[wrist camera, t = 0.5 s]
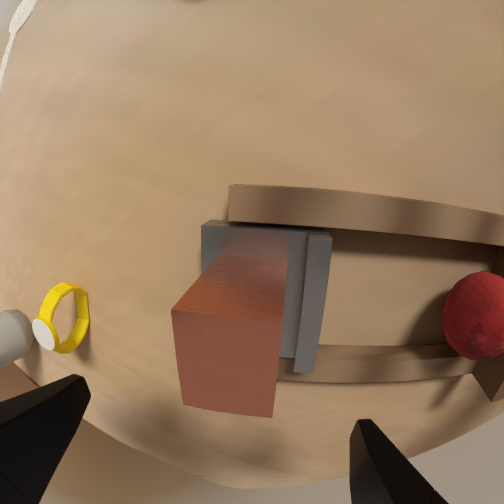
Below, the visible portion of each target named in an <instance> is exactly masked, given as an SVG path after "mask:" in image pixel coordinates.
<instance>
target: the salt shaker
mask: <svg viewBox="0 0 504 504" xmlns="http://www.w3.org/2000/svg"><path fill="white" fill-rule="evenodd" d="M33 341H34V333H33V329H32V325H31V323H30V321H29V320H28V318H27V316H26V315H24V314H23V313H22V312H20V311H19V310H4V311H2V312H0V368H1V367H3V366H5V365H7V364H9V363H11V362H13V361H15V360H17V359H19V358H21V357H23V356H25V355H26V354H27V353H28V352H29V350H30V348H31V345H32V343H33Z"/></svg>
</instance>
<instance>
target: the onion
mask: <svg viewBox="0 0 504 504" xmlns="http://www.w3.org/2000/svg"><path fill="white" fill-rule="evenodd" d="M442 326H443V330H444V335H445V338H446V340H447V342H448V344H449V345H450V346H451V347H452V348H453V349H454V350H455V351H457V352H458V353H459V354H460V355H462V356H463V357H465V358H467V359H469V360H483V359H487V358H493V357H495V356H497V355H499V354H501V353H502V352H504V279H503V278H502V277H501V276H498V275H495V274H492V273H489V272H486V271H481V272H477V273H472V274H469V275H467V276H466V277H464V278H463V279H461V280H460V281H458V282H457V283H456V284H455V285H454V287H453V288H452V289H451V290H450V292H449V294H448V296H447V298H446V301H445V303H444V307H443V314H442Z"/></svg>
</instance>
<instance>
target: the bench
mask: <svg viewBox="0 0 504 504" xmlns="http://www.w3.org/2000/svg"><path fill="white" fill-rule="evenodd" d="M228 221H240V222H258V223H274V224H289V225H304V226H317V227H330V228H343V229H355V230H366V231H377V232H387V233H398V234H408V235H417V236H427V237H436V238H445V239H453V240H462V241H470V242H478V243H485V244H493V245H499V246H498V251H497V256H496V261H495V265H494V270H493V274H495V275H498V276H501V277H502V278H503V279H504V216H503V215H498V214H493V213H489V212H484V211H479V210H474V209H468V208H463V207H457V206H452V205H446V204H440V203H434V202H427V201H421V200H414V199H407V198H400V197H392V196H384V195H376V194H367V193H358V192H348V191H338V190H326V189H314V188H300V187H285V186H267V185H243V184H234V185H230V186H229V195H228ZM293 370H294V358H284V357H279V365H278V374H277V380H289V381H306V382H335V383H367V382H395V381H410V380H423V379H433V378H442V377H450V376H458V375H465V374H471V373H472V374H473V375H474V377H475V378H476V380H477V381H478V383H479V384H480V386H481V387H482V389H483V390H484V392H485V393H486V395H487V396H488V398H489V399H490V401H491V402H494V401H498V400H501V399H503V398H504V352H502V353H501V354H499V355H497V356H495V357H493V358H487V359H483V360H469V359H467V358H465V357H463V356H462V355H460V354H459V353H458V352H457V351H455V350H454V349H453V348H452V347H451V346H450V345H449V344H436V345H413V346H343V345H318V348H317V353H316V359H315V364H314V369H313V373H298V372H293Z"/></svg>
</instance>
